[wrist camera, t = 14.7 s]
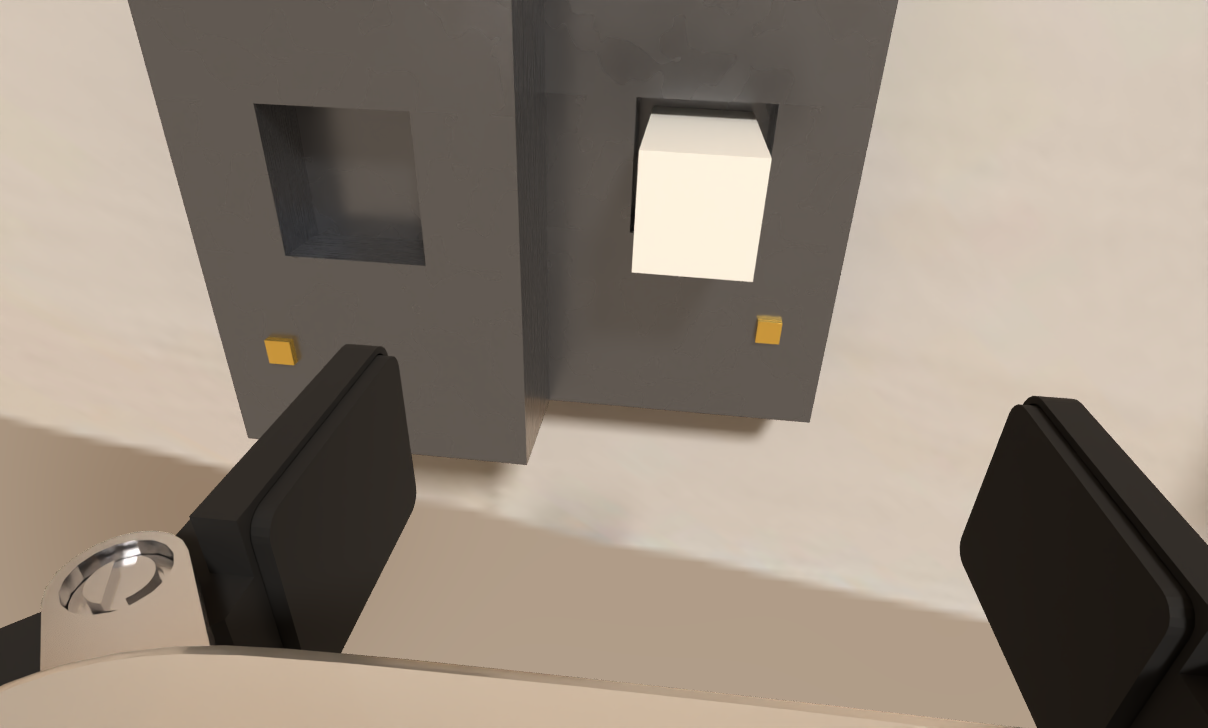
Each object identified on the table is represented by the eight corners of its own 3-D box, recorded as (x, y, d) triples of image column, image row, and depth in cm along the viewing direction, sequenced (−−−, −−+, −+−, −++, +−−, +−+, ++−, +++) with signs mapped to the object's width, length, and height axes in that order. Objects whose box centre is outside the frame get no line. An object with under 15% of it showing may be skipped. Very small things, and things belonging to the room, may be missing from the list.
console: (250, -174, 26) (53, -238, 18) (903, -164, 24) (1005, -232, 16) (342, 340, 37) (244, 442, 29) (798, 378, 35) (828, 498, 27)
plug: (653, 106, 28) (639, 150, 21) (753, 112, 28) (771, 158, 21) (646, 214, 30) (630, 286, 23) (738, 221, 30) (750, 296, 23)
